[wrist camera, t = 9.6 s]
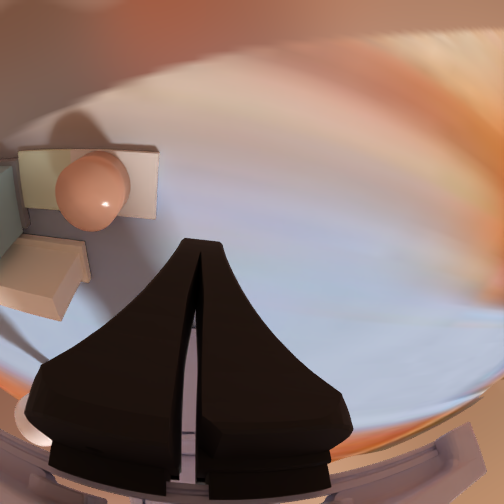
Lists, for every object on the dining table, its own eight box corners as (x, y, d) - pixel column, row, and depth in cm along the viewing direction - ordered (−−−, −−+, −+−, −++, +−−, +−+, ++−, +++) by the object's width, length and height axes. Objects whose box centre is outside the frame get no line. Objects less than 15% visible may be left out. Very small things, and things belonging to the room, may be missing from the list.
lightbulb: (25, 350, 24) (-1, 424, 15) (60, 356, 24) (35, 440, 15) (49, 377, 27) (31, 445, 18) (84, 384, 28) (68, 459, 19)
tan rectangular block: (91, 277, 18) (67, 328, 14) (-10, 258, 16) (-38, 295, 12) (84, 241, 16) (53, 291, 12) (-20, 227, 14) (-52, 263, 10)
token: (118, 224, 16) (107, 242, 14) (66, 198, 14) (50, 213, 13) (140, 167, 14) (128, 180, 12) (82, 140, 12) (64, 150, 11)
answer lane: (156, 217, 16) (155, 219, 16) (26, 205, 14) (24, 207, 14) (159, 152, 14) (158, 153, 13) (20, 150, 12) (17, 152, 12)
